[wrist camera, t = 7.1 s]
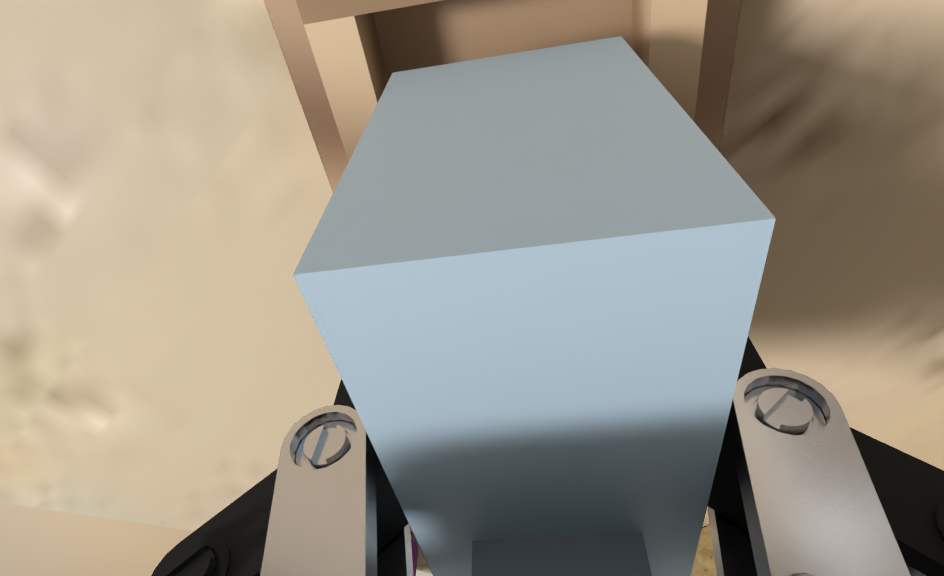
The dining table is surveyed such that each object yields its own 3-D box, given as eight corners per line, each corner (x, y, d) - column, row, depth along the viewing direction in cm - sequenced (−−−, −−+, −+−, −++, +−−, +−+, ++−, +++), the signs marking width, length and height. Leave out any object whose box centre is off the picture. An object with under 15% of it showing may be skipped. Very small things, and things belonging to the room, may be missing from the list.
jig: (251, -98, 11) (191, -92, 9) (745, -199, 10) (819, -222, 8) (445, 474, 24) (440, 533, 22) (662, 460, 23) (680, 521, 21)
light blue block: (392, 72, 9) (240, 379, 4) (621, 36, 9) (862, 321, 3) (471, 397, 15) (461, 720, 9) (614, 385, 14) (697, 717, 9)
